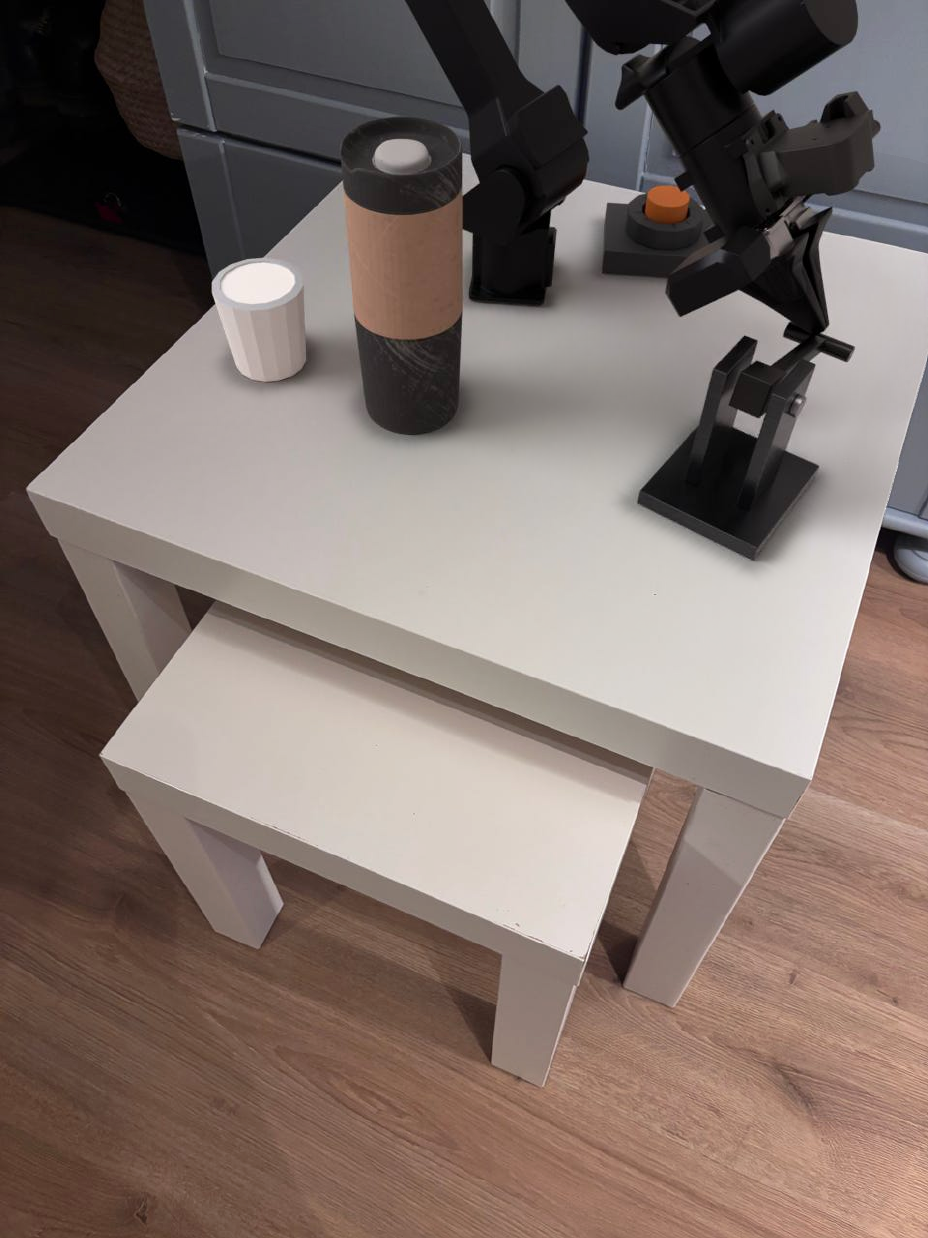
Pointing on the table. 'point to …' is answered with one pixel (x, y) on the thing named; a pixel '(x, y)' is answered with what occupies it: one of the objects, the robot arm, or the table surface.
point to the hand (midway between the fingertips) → (821, 330)
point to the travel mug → (406, 267)
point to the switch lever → (782, 369)
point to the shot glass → (263, 317)
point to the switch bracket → (736, 463)
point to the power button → (667, 204)
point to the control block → (650, 239)
